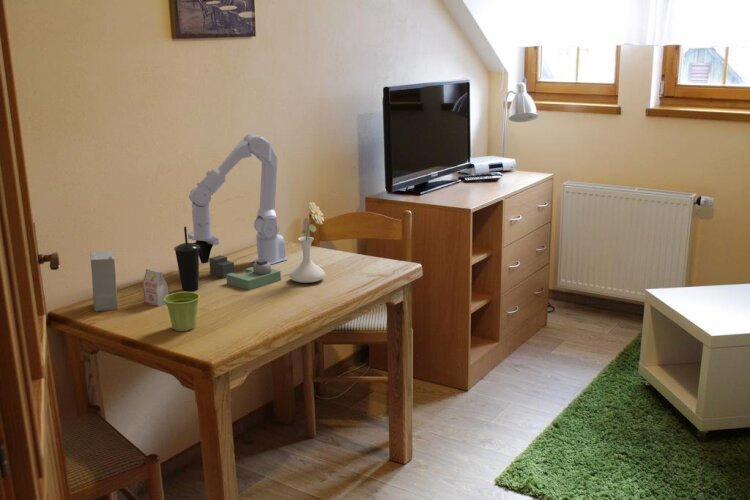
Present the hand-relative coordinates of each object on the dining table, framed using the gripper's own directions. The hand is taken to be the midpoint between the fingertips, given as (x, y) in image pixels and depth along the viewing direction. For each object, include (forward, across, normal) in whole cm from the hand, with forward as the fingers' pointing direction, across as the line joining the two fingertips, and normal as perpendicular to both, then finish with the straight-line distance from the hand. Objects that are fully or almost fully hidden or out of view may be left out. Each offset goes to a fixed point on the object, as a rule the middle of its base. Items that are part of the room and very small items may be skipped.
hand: (204, 262), depth 261 cm
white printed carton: (+3, +17, -30) cm, 35 cm away
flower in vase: (+3, +36, +14) cm, 39 cm away
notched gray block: (+3, +9, 0) cm, 10 cm away
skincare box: (+3, +8, -41) cm, 42 cm away
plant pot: (+3, +41, -37) cm, 55 cm away
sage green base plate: (+3, +24, +2) cm, 24 cm away
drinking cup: (+3, +14, -16) cm, 21 cm away
